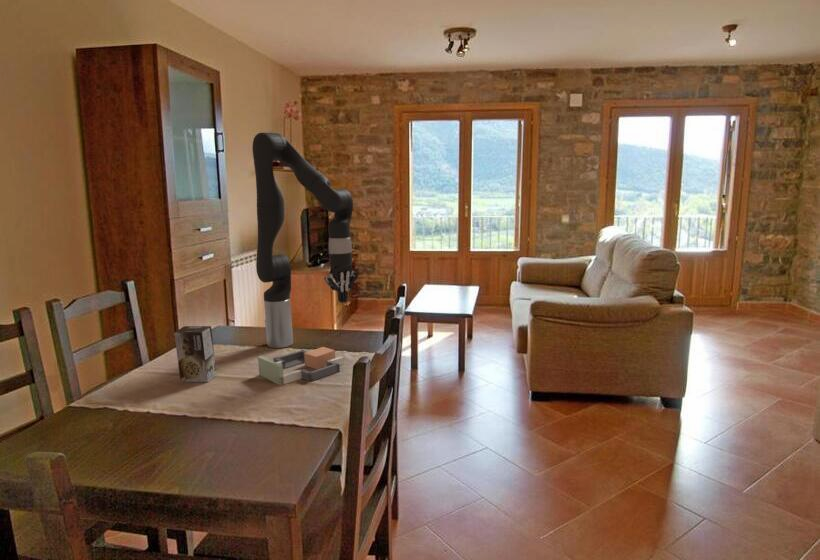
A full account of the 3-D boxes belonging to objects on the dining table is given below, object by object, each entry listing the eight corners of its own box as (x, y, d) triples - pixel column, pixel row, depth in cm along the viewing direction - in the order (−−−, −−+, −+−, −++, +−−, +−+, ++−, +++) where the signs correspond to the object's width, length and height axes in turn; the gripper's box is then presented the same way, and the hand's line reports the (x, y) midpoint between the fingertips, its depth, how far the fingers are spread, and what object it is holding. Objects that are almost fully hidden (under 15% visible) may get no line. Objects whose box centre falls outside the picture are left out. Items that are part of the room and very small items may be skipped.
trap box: (253, 371, 170) (251, 354, 168) (315, 353, 186) (314, 336, 185) (287, 389, 155) (286, 369, 154) (351, 367, 171) (350, 349, 170)
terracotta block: (304, 366, 174) (304, 353, 173) (323, 359, 180) (322, 346, 179) (316, 370, 170) (316, 356, 169) (335, 363, 176) (334, 350, 175)
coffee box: (217, 374, 168) (212, 325, 165) (207, 382, 162) (202, 331, 158) (189, 374, 169) (184, 325, 166) (179, 382, 163) (173, 331, 159)
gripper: (349, 247, 182) (351, 296, 186) (317, 252, 173) (320, 304, 177) (363, 249, 177) (365, 300, 181) (330, 254, 168) (333, 307, 171)
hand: (342, 302), depth 179 cm, fingers closed
